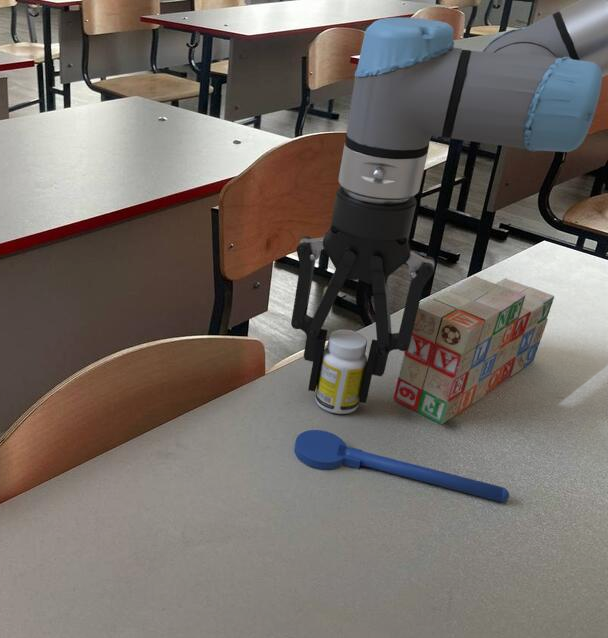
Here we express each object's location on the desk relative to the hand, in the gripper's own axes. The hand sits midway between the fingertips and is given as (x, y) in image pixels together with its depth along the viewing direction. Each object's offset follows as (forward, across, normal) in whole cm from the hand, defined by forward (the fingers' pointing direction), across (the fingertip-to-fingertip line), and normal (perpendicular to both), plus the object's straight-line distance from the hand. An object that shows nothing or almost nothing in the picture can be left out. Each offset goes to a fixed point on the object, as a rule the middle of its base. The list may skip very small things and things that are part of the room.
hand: (338, 390), depth 84 cm
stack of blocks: (+2, +14, +11) cm, 18 cm away
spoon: (+2, +7, -10) cm, 12 cm away
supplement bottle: (+2, 0, 0) cm, 2 cm away
